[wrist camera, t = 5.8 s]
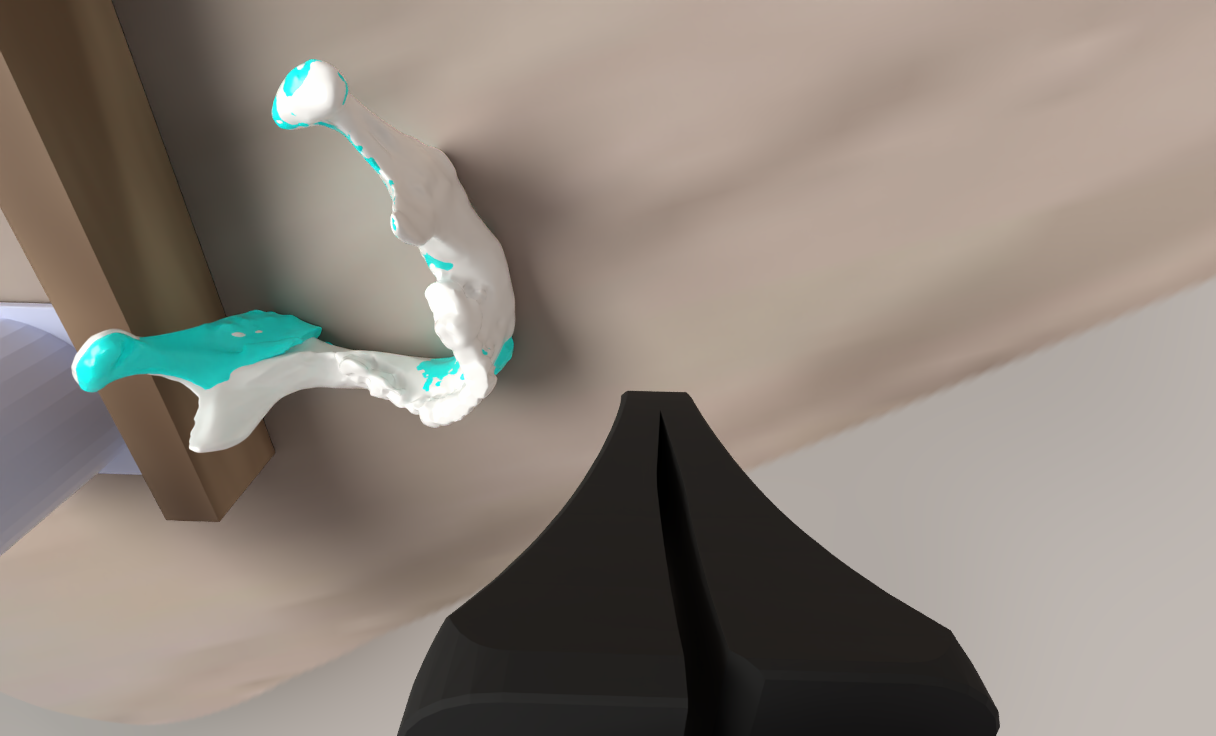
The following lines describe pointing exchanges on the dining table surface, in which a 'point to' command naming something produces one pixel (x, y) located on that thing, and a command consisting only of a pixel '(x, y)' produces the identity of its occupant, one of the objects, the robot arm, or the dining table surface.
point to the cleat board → (111, 232)
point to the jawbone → (288, 347)
